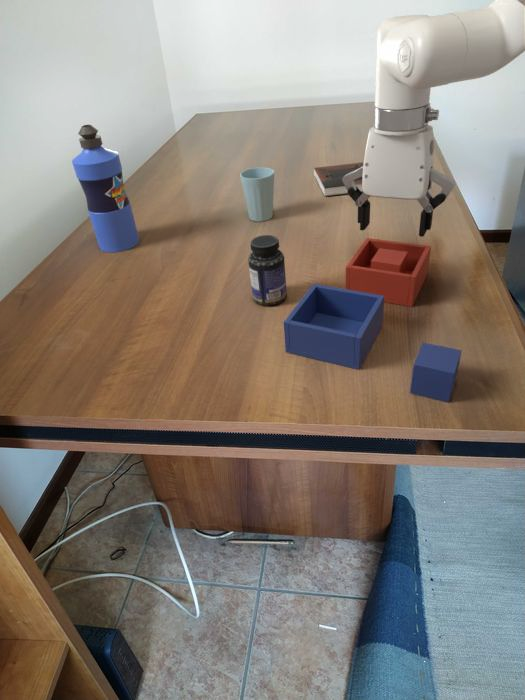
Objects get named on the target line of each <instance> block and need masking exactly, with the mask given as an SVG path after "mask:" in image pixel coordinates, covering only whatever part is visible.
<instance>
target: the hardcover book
mask: <svg viewBox="0 0 525 700" xmlns="http://www.w3.org/2000/svg"><path fill="white" fill-rule="evenodd" d="M363 165H364V161H361V162H353V163H344V164H335V165H326V166H319V167H318V166H317V167H313V175H314V178H315V179H316V181H317V184H318V185H319V187H320V189H321V191H322V193H323V195H324V196H325V197H333V196H339V195H348V191H347V189H346V188H345V185H344V183H343V181H342V178H343V177H344V176H345V175H346V174H348V173H350V172H352V171H354V170H357V169H359V168H361V167H363ZM354 183H355V186H357V188H358V189H359V190H360V191H361V192H362V193H364V192H363V189H362V177H360V178H358V179H356V180H354Z"/></svg>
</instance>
